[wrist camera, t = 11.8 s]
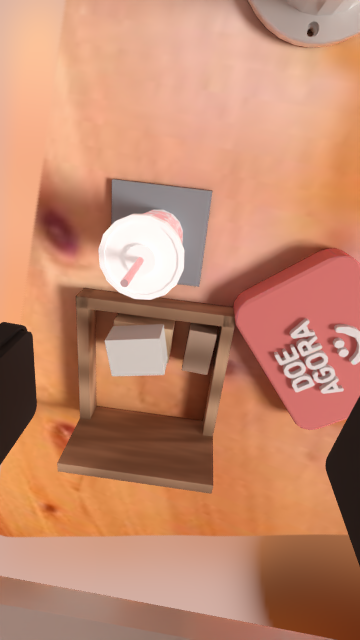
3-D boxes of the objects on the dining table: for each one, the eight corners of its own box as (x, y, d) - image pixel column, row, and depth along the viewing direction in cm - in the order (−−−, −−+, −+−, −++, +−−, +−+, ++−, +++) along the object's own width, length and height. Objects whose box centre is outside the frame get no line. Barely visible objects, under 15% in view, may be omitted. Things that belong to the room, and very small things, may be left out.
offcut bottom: (121, 308, 36) (113, 320, 33) (175, 317, 36) (172, 330, 33) (119, 340, 38) (112, 354, 35) (171, 348, 38) (168, 363, 35)
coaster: (113, 179, 30) (112, 179, 29) (212, 190, 30) (212, 191, 29) (112, 273, 34) (110, 275, 33) (199, 284, 34) (199, 286, 33)
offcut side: (191, 320, 36) (190, 330, 34) (216, 324, 36) (217, 335, 34) (183, 358, 38) (181, 370, 36) (207, 363, 38) (207, 375, 36)
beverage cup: (203, 245, 31) (198, 300, 19) (150, 277, 33) (114, 347, 21) (168, 186, 29) (136, 204, 17) (114, 223, 31) (49, 265, 19)
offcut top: (112, 326, 33) (104, 340, 31) (163, 324, 33) (159, 338, 30) (119, 359, 35) (111, 376, 32) (167, 358, 35) (164, 374, 32)
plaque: (447, 387, 33) (303, 439, 37) (425, 366, 36) (295, 415, 41) (390, 230, 27) (227, 313, 31) (370, 222, 30) (225, 298, 35)
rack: (84, 288, 35) (46, 326, 27) (234, 307, 34) (242, 352, 26) (87, 412, 42) (58, 471, 34) (211, 429, 42) (211, 493, 34)
